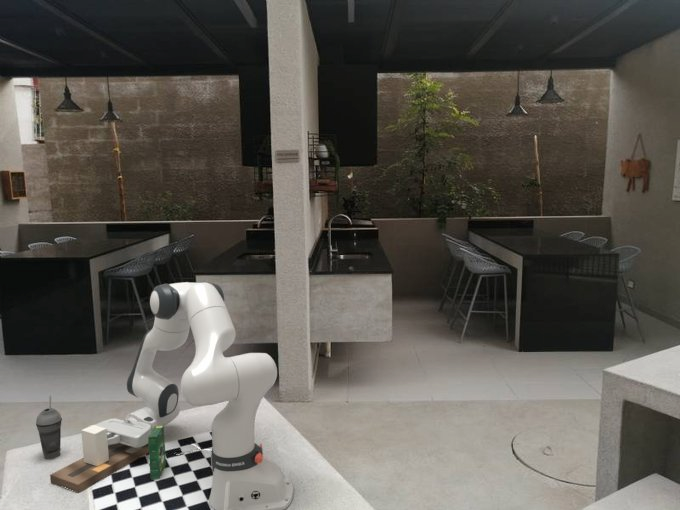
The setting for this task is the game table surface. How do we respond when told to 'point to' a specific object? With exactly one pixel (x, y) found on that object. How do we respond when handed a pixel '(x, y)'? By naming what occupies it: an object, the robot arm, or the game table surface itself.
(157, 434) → the coffee box
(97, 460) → the switch tab
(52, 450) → the beverage cup
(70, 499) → the game table surface
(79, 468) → the switch board
